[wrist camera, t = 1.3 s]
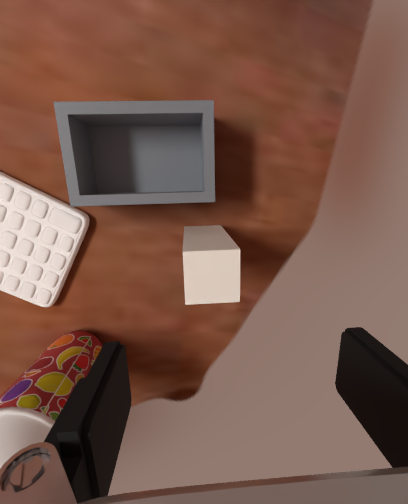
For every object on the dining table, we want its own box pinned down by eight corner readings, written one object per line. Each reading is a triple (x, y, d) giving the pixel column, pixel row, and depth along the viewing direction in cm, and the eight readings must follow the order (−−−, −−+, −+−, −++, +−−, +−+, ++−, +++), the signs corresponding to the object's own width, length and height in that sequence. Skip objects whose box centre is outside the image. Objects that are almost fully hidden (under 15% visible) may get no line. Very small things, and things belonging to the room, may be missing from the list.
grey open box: (79, 117, 27) (53, 101, 22) (208, 116, 28) (213, 100, 23) (91, 202, 30) (70, 206, 24) (210, 198, 30) (215, 201, 25)
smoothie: (99, 382, 36) (-2, 609, 17) (41, 361, 35) (-143, 583, 15) (122, 335, 34) (40, 528, 15) (62, 311, 33) (-114, 491, 14)
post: (184, 226, 31) (182, 251, 20) (220, 225, 31) (240, 249, 20) (186, 261, 32) (185, 304, 21) (221, 259, 32) (239, 301, 21)
